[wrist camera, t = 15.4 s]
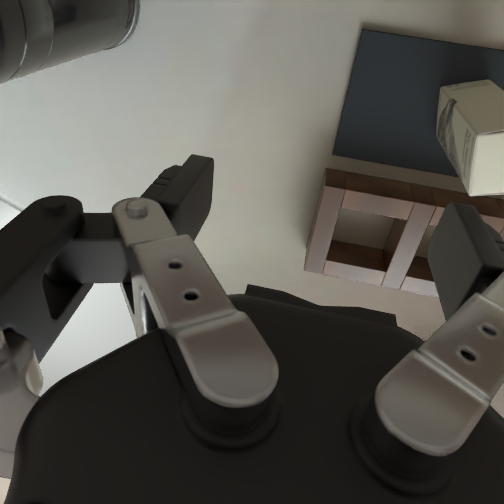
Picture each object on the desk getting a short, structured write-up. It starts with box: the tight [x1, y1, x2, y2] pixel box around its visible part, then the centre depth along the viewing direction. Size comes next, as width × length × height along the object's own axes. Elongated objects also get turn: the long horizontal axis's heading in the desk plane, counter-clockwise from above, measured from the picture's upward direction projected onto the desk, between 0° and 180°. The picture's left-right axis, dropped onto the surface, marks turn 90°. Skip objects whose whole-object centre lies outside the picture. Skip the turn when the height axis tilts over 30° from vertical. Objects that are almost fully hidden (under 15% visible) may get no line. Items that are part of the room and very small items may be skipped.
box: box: [436, 79, 504, 196], centre depth 33 cm, size 5×4×13 cm
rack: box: [304, 168, 504, 298], centre depth 45 cm, size 21×11×4 cm, turn 84°
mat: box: [332, 29, 504, 177], centre depth 39 cm, size 20×12×1 cm, turn 84°
